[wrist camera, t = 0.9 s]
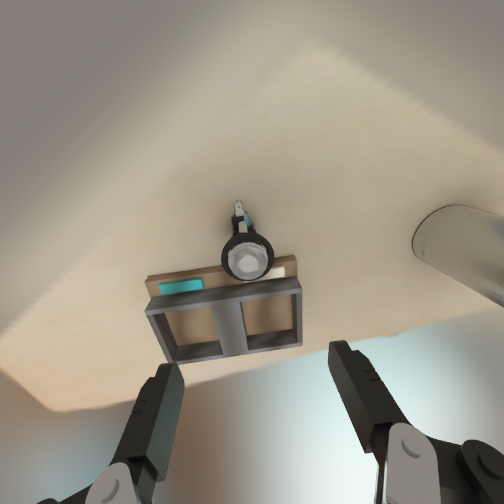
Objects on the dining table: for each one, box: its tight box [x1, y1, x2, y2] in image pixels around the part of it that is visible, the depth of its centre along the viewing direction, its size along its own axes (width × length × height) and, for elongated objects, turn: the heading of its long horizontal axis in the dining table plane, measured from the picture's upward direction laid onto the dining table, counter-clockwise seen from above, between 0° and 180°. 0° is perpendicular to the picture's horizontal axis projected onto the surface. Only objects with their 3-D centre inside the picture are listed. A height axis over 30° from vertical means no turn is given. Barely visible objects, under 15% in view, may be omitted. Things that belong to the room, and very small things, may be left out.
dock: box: [145, 256, 302, 365], centre depth 32 cm, size 22×15×4 cm
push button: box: [221, 201, 274, 281], centre depth 24 cm, size 7×5×10 cm
